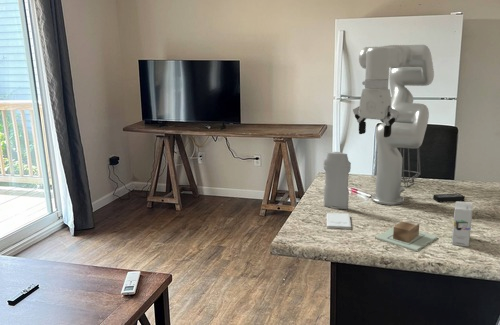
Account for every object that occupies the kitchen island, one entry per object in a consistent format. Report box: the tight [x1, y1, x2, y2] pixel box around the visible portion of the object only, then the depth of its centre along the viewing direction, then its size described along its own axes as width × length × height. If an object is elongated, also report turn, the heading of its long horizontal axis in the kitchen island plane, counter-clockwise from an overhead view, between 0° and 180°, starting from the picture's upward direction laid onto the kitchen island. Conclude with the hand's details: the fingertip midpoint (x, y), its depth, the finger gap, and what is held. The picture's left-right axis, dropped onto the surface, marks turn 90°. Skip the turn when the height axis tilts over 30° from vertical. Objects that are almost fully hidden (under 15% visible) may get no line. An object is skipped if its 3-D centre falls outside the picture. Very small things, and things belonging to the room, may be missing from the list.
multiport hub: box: [432, 192, 466, 203], centre depth 179 cm, size 4×11×2 cm, turn 95°
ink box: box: [451, 201, 473, 247], centre depth 139 cm, size 8×5×12 cm, turn 154°
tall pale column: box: [323, 151, 352, 210], centre depth 171 cm, size 11×4×22 cm, turn 61°
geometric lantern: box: [379, 119, 422, 188], centre depth 199 cm, size 16×16×35 cm
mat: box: [374, 226, 438, 252], centre depth 143 cm, size 14×14×1 cm
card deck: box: [393, 218, 420, 243], centre depth 142 cm, size 5×8×4 cm, turn 138°
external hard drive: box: [326, 212, 352, 230], centre depth 158 cm, size 2×8×12 cm
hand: (374, 135), depth 154 cm, fingers open, 9 cm apart
